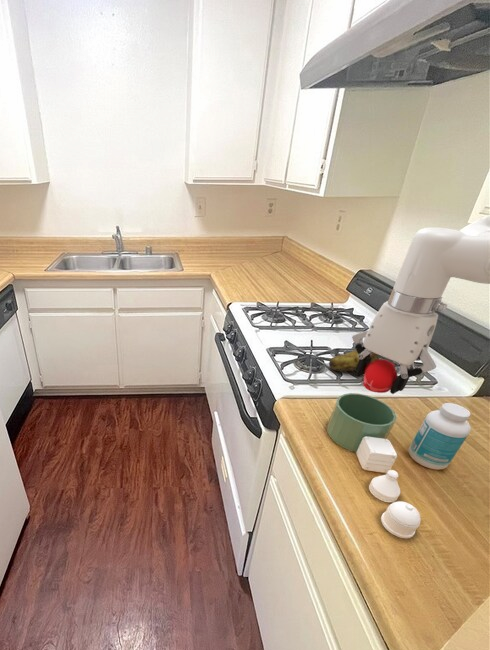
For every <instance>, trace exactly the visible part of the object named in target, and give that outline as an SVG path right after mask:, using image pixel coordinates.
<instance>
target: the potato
mask: <svg viewBox="0 0 490 650" xmlns="http://www.w3.org/2000/svg"><path fill="white" fill-rule="evenodd" d="M358 355H359V354H358V352H357V350H356V349H355V350H352V351H349V352H347V353H343V354H342V353H341V354H339V355H335V356H333V357H331V358H330V359H329V362H328V366H329V368H330V369H331V370H334V371H336V372H337V371H339V372H340V371H343V372H352V371H351V370H355V371H357V370H356V367H357V365H358V362H359V360H360V359H359V358H358ZM370 357H372V358H371V359H372V360H371V362H373V361H376V360H379V359H380V355H378V354H376V353H373V354H371V355H370ZM371 362H370V363H371Z"/></svg>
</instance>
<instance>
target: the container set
mask: <svg viewBox="0 0 490 650" xmlns="http://www.w3.org/2000/svg"><path fill="white" fill-rule="evenodd" d="M356 457H357V459H358V462H359V465H360V466H361V469H363V470H364V471H369V472H377V473H384V474H383V475H379V476H375V477H373V478H372V479H371V481H370V483H369V485H368V490H369V492H370V493H371V495H373V497H375V498H376V499H377V500H379V501H382V502H385V503H391V504H389V505H388V506H387V508H386V510H385V511H384V512H383V513H382V514H381V517H380V521H381V524H382V526H383V527H384V528H385V530H386V531H388V532H389V533H390V534H391V535H393V536H395V537H398V538H401V539H411V538H413V537H414V535H415V534H416V530H417V529H418V527H420V525H421V519H422V518H421V514H420V512H419V511H418V509H417V508H416V507H415V506H414V505H412V504H410V503H409V502H406V501H402V500H401V501H399V500H398V498H399V497H400V495H401V488H400V486H399V483H398V478H399V476H400V475H399V473H398V472H397V471H396V470H394V469H392V467H393V465H394V463H395V462H396V460H397V458H398V454H397V451H396V450H395V448H394V446H393V445H392V443H391V441H390V440H389V439H388V438H387V439H383V438H375V437H367V436H366V437H363V439H362V441H361V443H360V445H359V447H358V450H357V452H356ZM397 500H398V501H397Z"/></svg>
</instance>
